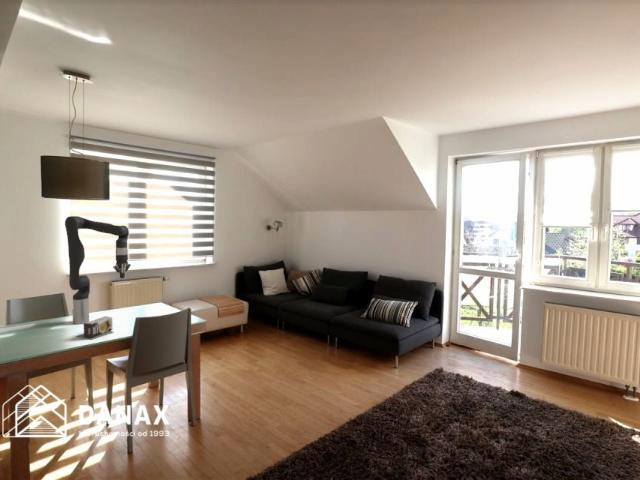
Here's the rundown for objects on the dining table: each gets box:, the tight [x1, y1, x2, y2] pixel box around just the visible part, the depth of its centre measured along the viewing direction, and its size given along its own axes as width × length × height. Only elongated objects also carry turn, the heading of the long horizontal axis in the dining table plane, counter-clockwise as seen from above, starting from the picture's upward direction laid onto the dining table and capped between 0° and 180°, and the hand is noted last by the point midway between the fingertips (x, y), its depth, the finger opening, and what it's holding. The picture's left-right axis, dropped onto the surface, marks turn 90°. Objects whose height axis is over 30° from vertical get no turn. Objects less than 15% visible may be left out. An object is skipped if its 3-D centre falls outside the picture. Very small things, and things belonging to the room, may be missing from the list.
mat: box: [76, 330, 115, 341], centre depth 227 cm, size 14×15×1 cm
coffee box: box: [83, 316, 113, 338], centre depth 227 cm, size 9×6×16 cm
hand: (122, 278), depth 251 cm, fingers closed
